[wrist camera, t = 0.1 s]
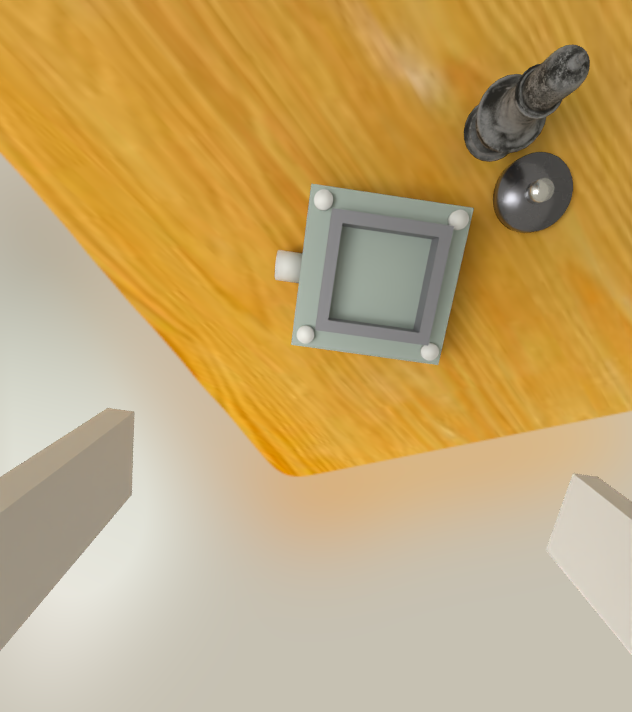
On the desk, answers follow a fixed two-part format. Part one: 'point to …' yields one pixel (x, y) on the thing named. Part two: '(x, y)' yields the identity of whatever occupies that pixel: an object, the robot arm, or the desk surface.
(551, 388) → the desk surface
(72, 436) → the robot arm
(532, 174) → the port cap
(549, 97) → the dark metal chess piece
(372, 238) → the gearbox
